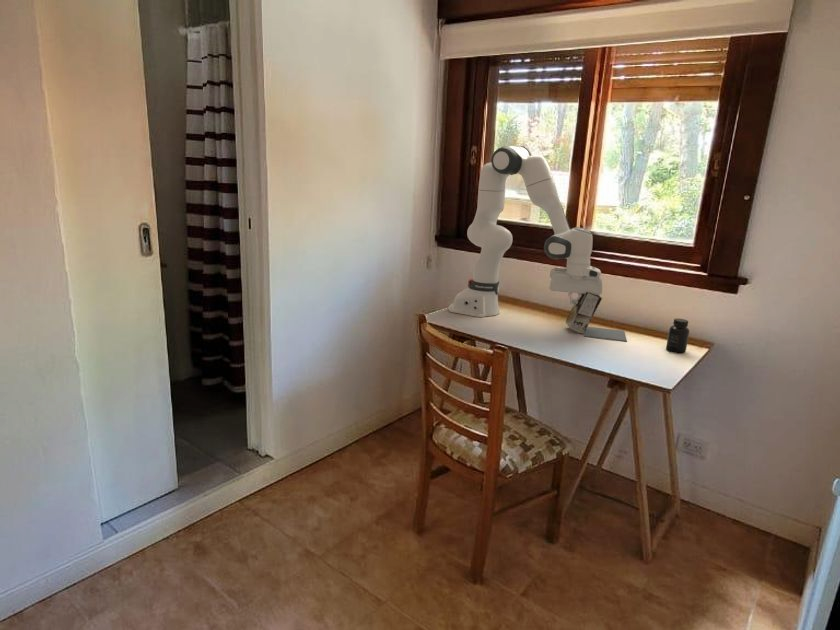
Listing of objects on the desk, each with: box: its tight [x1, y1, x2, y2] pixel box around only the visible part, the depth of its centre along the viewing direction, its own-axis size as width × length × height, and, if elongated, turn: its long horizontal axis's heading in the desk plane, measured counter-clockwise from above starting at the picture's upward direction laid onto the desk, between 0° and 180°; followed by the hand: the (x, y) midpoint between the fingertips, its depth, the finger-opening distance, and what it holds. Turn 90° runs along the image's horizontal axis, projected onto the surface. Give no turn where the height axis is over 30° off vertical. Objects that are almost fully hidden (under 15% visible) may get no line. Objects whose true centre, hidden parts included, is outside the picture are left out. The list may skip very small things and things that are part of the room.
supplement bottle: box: [665, 317, 690, 355], centre depth 203 cm, size 7×7×12 cm
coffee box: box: [565, 292, 603, 335], centre depth 221 cm, size 9×6×16 cm
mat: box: [583, 325, 628, 343], centre depth 220 cm, size 16×13×1 cm
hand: (573, 303), depth 220 cm, fingers closed
